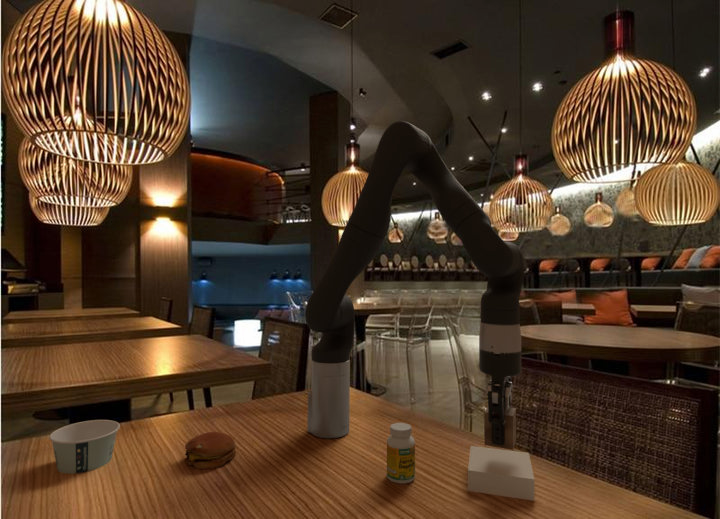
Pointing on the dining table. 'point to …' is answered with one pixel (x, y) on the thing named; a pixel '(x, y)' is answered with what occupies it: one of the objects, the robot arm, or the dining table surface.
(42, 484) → the dining table surface
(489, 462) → the riser block
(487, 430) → the walnut block
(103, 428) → the food container
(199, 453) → the burger
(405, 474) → the supplement bottle
